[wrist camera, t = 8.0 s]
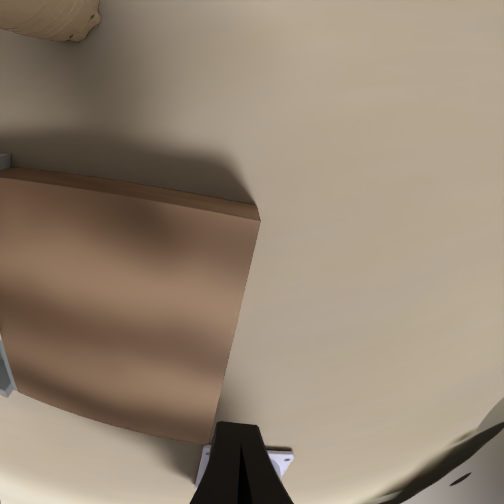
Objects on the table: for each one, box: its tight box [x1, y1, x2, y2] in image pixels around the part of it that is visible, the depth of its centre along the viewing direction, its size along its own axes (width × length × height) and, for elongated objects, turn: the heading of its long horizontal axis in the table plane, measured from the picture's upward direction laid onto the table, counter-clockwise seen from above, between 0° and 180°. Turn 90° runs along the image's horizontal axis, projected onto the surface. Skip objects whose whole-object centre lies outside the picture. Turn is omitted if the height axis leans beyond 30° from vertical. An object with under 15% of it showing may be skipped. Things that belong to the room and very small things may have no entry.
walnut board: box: [0, 167, 261, 445], centre depth 17 cm, size 16×15×3 cm
